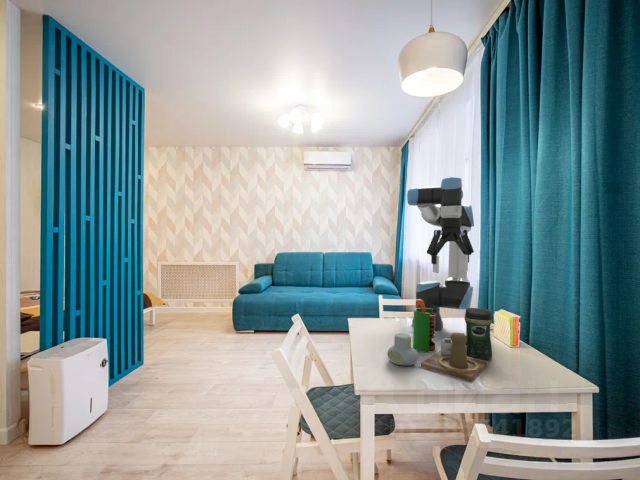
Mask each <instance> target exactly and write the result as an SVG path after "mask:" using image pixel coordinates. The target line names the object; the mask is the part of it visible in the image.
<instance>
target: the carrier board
mask: <svg viewBox="0 0 640 480" xmlns="http://www.w3.org/2000/svg"><path fill="white" fill-rule="evenodd" d="M440 342H441V343H440V350H438V351H437V352H436V353H433V354H432V355H430V356H429V357H427V358H426V359H424V360H422V361H421V362H420V368H423V369H426V370H429V371H430V370H431V371H433V372H437V373H439V374H440V373H441V374H443V375H447V376H451V377H454V378H457V379H461V380H463V381H467V382H470V383H472V382H474V380H475V379H476V378H477V377H478V376H479V375H480V374H481V373H482V372H483V371H484V370H485V369H486V368H487V367H488V366H489V360H488V361H487V360H485V359H476V358H472V357H468V356H467V363H468V368H465V369H460V368H455V367H452V366H450V365H449V361H450V354H451V347H452V341H451V338H448V337H444V339H441V341H440Z"/></svg>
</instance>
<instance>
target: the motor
mask: <svg viewBox="0 0 640 480" xmlns="http://www.w3.org/2000/svg"><path fill="white" fill-rule="evenodd" d="M416 305H421V308H416V307H415V308H413V318H414V322H413V326H412V328H413V329H412V348H414V349H415V350H416V351H417V352H422V353H431V352H435V351H436V350H437V349H436V342H434V341H433V339H435V338H436V335H435V334H436V330H435V322H434V321H435V318H433V317H436V315H435V314H434V313H433V309H430V308H425V305H424V302H423V300H421V299H416V298H415V306H416Z"/></svg>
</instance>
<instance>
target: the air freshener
mask: <svg viewBox="0 0 640 480" xmlns="http://www.w3.org/2000/svg"><path fill="white" fill-rule="evenodd" d="M393 340H394V341H393V343H394V345H391V346H390V347H389V348H388V349H387V352H386V354H387V358H388V359H389V360H390V361H391V362H392V363H394V364H395V365H398V366H400V367H401V366H411V365H413V364H415V363H416V362H417V361H418V359H419V353H418V351H417V350H415V349H414V348H413V346H412V336H411V335H410V334H408V333H402V332H401V333H396V334H394V339H393Z"/></svg>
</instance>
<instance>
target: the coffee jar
mask: <svg viewBox="0 0 640 480" xmlns="http://www.w3.org/2000/svg"><path fill="white" fill-rule="evenodd" d="M464 322H465V325H466V326H465V335H466V337H467V342H466V343H465V348H466V355H467V356H468V357H472V358H476V359H481V360H485V361H487V360H488V361H489V360H491V359H492V358H493V348H492V340H491V339H492V338H491V325H492V323H493V317H492V312H491V310H490V309H487V308H482V307H481V308H478V307H470V308H467V309H466V310H465V314H464Z"/></svg>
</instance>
